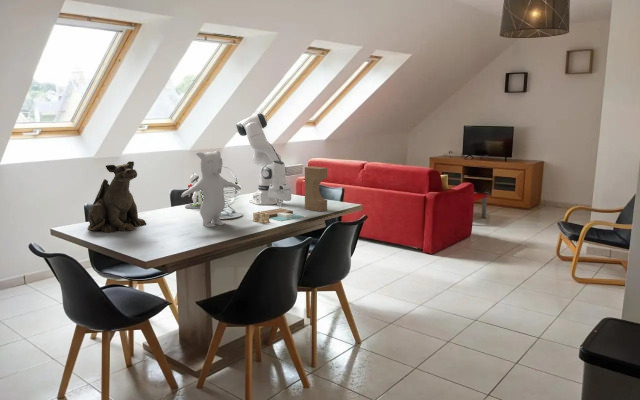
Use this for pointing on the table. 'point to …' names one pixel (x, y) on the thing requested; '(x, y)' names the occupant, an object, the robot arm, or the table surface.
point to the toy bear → (211, 188)
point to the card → (284, 215)
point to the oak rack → (261, 217)
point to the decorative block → (314, 188)
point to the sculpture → (115, 203)
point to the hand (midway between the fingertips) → (279, 205)
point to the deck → (274, 212)
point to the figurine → (195, 194)
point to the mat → (286, 218)
